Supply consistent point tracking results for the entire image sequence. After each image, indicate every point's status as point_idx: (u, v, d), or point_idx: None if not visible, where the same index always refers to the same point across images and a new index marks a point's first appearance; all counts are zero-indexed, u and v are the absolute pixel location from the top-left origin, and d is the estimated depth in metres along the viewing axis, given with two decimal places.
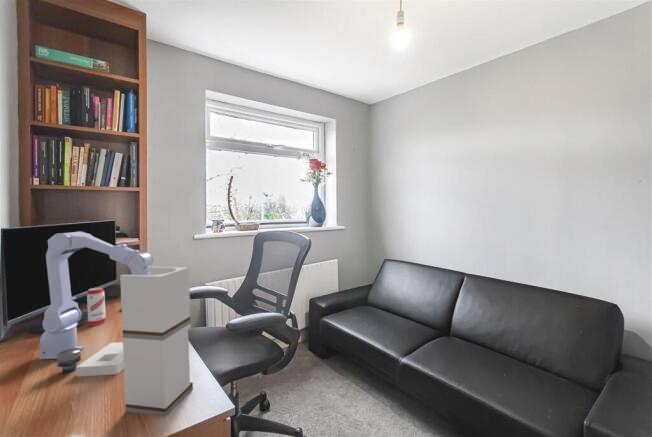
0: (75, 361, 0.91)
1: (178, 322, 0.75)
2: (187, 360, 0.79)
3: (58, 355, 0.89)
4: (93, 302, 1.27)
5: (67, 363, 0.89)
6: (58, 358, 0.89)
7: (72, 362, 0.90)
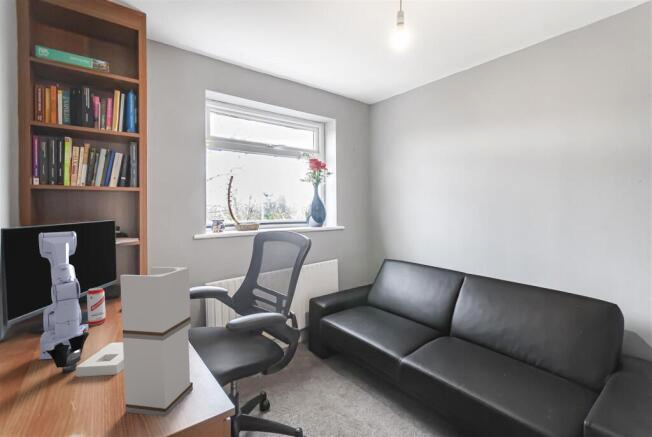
0: (75, 361, 0.91)
1: (178, 322, 0.75)
2: (187, 360, 0.79)
3: None
4: (93, 302, 1.27)
5: (67, 363, 0.89)
6: None
7: (72, 362, 0.90)
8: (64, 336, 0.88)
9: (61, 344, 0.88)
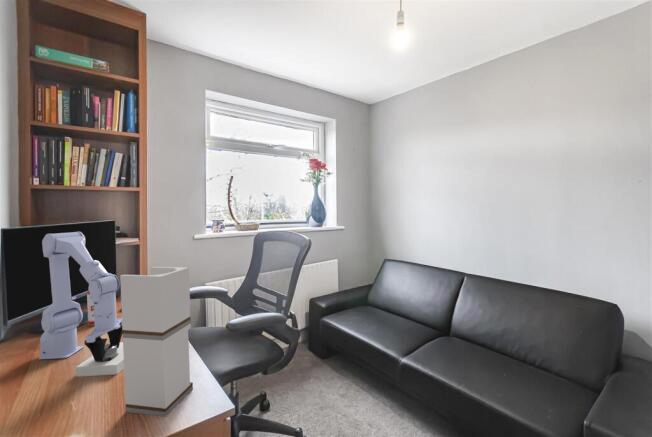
0: (113, 356, 0.93)
1: (178, 322, 0.75)
2: (187, 360, 0.79)
3: None
4: (93, 302, 1.27)
5: (106, 358, 0.91)
6: None
7: (110, 357, 0.92)
8: (103, 329, 0.90)
9: (99, 338, 0.89)
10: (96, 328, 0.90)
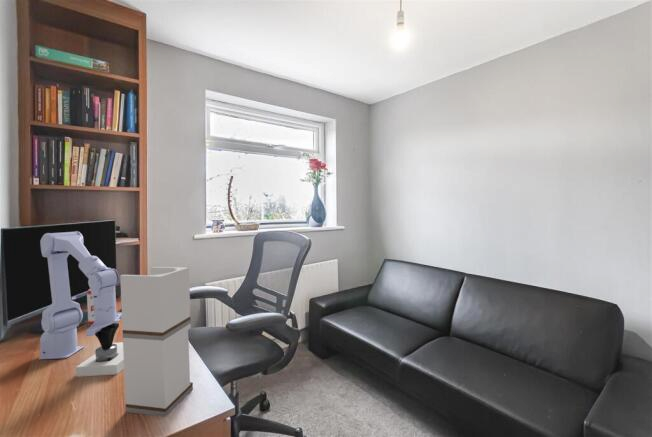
0: (113, 356, 0.93)
1: (178, 322, 0.75)
2: (187, 360, 0.79)
3: (97, 351, 0.91)
4: (93, 302, 1.27)
5: (106, 358, 0.91)
6: (97, 353, 0.90)
7: (110, 357, 0.92)
8: (103, 323, 0.90)
9: (107, 327, 0.92)
10: (96, 322, 0.90)
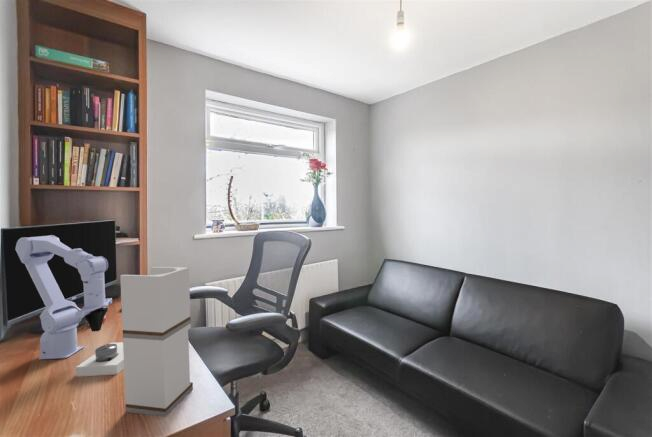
0: (113, 356, 0.93)
1: (178, 322, 0.75)
2: (187, 360, 0.79)
3: (97, 351, 0.91)
4: None
5: (106, 358, 0.91)
6: (97, 353, 0.90)
7: (110, 357, 0.92)
8: (92, 306, 0.96)
9: (96, 310, 0.98)
10: (85, 305, 0.96)
